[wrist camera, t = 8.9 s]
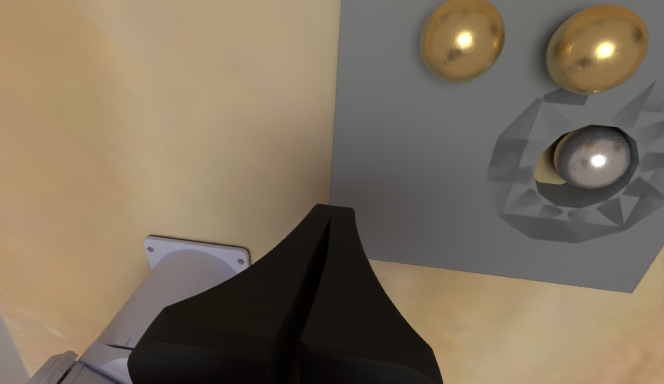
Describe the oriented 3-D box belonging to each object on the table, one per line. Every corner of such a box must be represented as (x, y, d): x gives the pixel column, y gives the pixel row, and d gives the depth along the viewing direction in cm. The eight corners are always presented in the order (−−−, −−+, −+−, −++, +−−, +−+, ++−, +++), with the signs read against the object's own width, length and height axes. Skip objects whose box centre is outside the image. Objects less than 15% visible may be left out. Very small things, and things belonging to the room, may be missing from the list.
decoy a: (483, 75, 17) (500, 96, 14) (411, 69, 17) (415, 88, 14) (504, -5, 15) (528, 1, 12) (424, -10, 15) (430, -6, 13)
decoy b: (600, 85, 16) (642, 108, 14) (524, 79, 17) (551, 100, 14) (634, 4, 15) (690, 11, 12) (550, -2, 15) (585, 5, 12)
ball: (576, 174, 21) (637, 191, 19) (535, 183, 20) (593, 202, 17) (587, 118, 20) (654, 127, 17) (544, 124, 19) (608, 134, 16)
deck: (332, 229, 25) (326, 253, 23) (348, -24, 18) (342, -23, 16) (610, 264, 24) (632, 293, 22) (764, 2, 16) (820, 7, 14)
